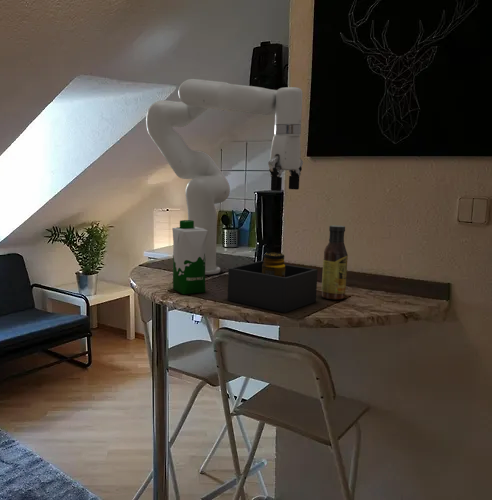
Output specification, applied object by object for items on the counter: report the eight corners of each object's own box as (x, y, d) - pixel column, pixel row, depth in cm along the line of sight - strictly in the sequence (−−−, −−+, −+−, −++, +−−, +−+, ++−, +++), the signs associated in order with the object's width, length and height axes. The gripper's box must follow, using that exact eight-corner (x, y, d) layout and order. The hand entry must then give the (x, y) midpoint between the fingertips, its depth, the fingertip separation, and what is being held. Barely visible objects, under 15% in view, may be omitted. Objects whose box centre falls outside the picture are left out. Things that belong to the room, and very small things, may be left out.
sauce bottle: (341, 301, 155) (346, 228, 152) (318, 298, 158) (322, 226, 155) (347, 296, 160) (351, 225, 157) (324, 293, 164) (328, 223, 160)
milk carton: (195, 286, 173) (196, 219, 169) (210, 293, 164) (211, 222, 161) (168, 288, 169) (169, 220, 166) (182, 295, 161) (183, 224, 158)
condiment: (291, 299, 154) (293, 254, 152) (268, 303, 150) (270, 258, 148) (270, 293, 160) (272, 250, 158) (248, 297, 156) (249, 253, 154)
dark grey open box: (227, 300, 156) (228, 268, 155) (260, 290, 167) (261, 260, 166) (284, 313, 144) (286, 278, 143) (316, 301, 155) (317, 269, 154)
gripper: (291, 132, 178) (289, 188, 181) (259, 130, 166) (257, 190, 169) (314, 131, 173) (311, 189, 176) (282, 130, 161) (280, 192, 164)
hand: (285, 190), depth 173 cm, fingers open, 9 cm apart
